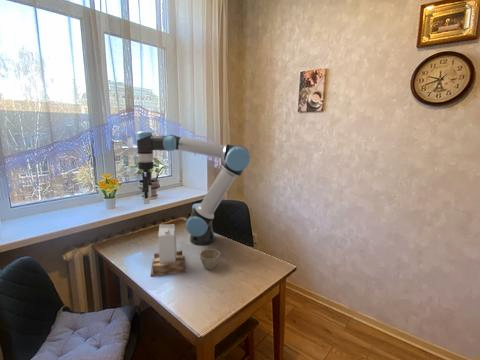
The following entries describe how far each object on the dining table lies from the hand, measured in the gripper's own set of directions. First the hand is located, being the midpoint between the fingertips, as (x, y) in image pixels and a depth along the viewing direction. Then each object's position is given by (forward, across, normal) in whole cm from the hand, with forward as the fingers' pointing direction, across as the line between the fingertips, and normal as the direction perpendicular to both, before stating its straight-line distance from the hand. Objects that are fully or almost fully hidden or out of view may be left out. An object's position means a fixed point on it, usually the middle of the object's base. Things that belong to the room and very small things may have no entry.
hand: (147, 200), depth 135 cm
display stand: (+29, +21, +10) cm, 37 cm away
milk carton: (+26, +21, +10) cm, 35 cm away
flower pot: (+29, +26, +30) cm, 49 cm away
